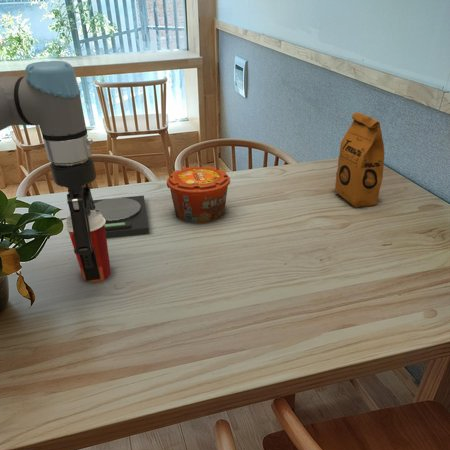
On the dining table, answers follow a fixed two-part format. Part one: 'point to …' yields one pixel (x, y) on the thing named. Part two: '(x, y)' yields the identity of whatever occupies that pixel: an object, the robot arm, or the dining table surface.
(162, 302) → the dining table surface
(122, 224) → the scale
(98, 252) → the paper cup
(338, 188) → the coffee package
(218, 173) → the food container
